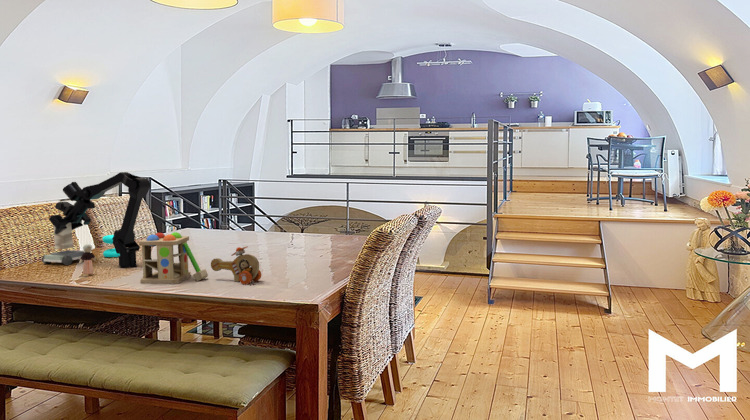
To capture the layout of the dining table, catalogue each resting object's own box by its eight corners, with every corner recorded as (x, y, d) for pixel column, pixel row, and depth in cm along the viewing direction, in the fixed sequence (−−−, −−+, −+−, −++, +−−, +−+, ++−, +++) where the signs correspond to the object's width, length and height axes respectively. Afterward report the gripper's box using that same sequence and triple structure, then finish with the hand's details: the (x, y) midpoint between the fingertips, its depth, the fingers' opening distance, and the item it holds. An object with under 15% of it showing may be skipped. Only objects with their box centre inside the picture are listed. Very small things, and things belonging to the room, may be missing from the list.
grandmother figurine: (86, 277, 231) (85, 245, 230) (78, 276, 232) (76, 244, 231) (99, 273, 239) (98, 242, 237) (91, 273, 239) (89, 242, 238)
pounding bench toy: (212, 275, 233) (211, 230, 231) (201, 283, 219) (199, 235, 217) (155, 275, 234) (153, 230, 232) (139, 283, 219) (137, 235, 218)
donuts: (117, 233, 287) (129, 235, 282) (117, 254, 288) (130, 255, 282) (97, 236, 279) (110, 237, 273) (98, 257, 280) (111, 258, 274)
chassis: (70, 258, 275) (70, 249, 275) (93, 260, 271) (92, 250, 270) (41, 264, 260) (40, 254, 260) (64, 266, 256) (63, 255, 255)
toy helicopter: (252, 285, 215) (251, 248, 213) (205, 281, 222) (204, 245, 221) (264, 281, 222) (263, 245, 221) (218, 277, 230) (217, 242, 229)
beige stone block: (72, 247, 265) (70, 218, 264) (64, 248, 260) (61, 219, 259) (64, 246, 266) (62, 218, 265) (55, 248, 262) (52, 219, 260)
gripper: (84, 194, 269) (65, 217, 273) (51, 196, 251) (32, 222, 255) (99, 211, 267) (80, 235, 271) (67, 215, 250) (47, 240, 254)
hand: (60, 232), depth 263 cm, fingers closed on beige stone block, 5 cm apart
